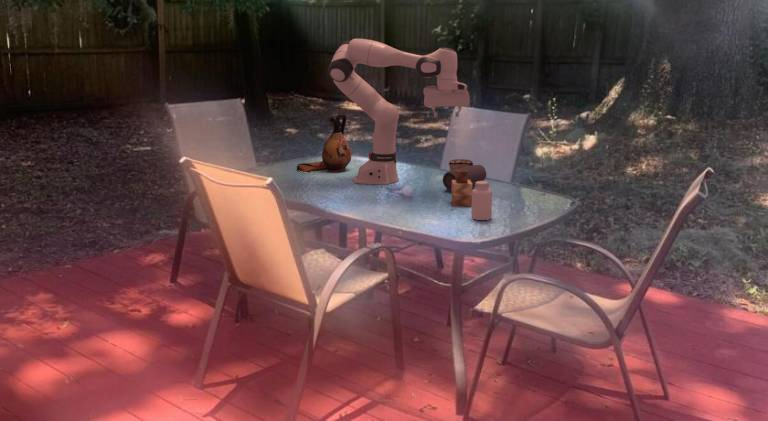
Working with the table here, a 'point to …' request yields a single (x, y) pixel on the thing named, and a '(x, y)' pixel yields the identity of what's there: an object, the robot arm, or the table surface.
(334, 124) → the ceramic jug
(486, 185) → the pill bottle
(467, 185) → the tower top
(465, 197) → the block
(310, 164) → the sunglasses case
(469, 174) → the bluetooth speaker
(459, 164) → the brown half-round wedge
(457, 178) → the walnut block
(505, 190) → the table surface
